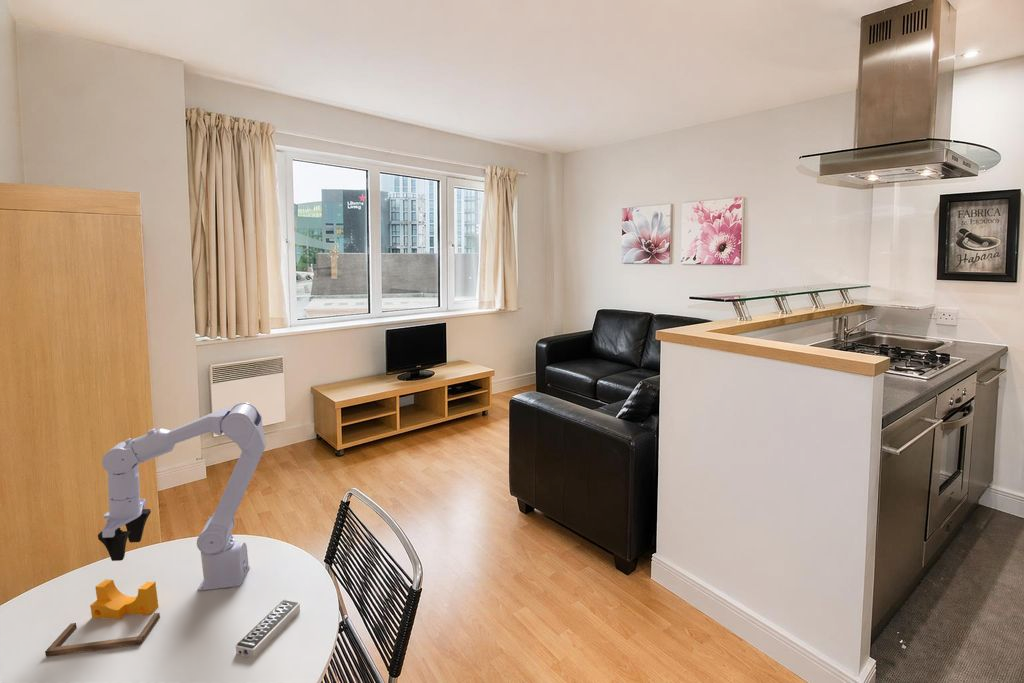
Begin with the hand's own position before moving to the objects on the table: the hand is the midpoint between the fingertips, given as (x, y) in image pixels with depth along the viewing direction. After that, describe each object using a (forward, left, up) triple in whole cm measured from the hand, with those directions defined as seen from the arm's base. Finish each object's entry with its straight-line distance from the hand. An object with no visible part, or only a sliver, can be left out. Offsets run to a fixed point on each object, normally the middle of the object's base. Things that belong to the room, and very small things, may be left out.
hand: (126, 550), depth 119 cm
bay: (-2, +14, -11) cm, 18 cm away
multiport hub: (-35, +19, -12) cm, 41 cm away
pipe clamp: (-2, +7, -12) cm, 14 cm away
